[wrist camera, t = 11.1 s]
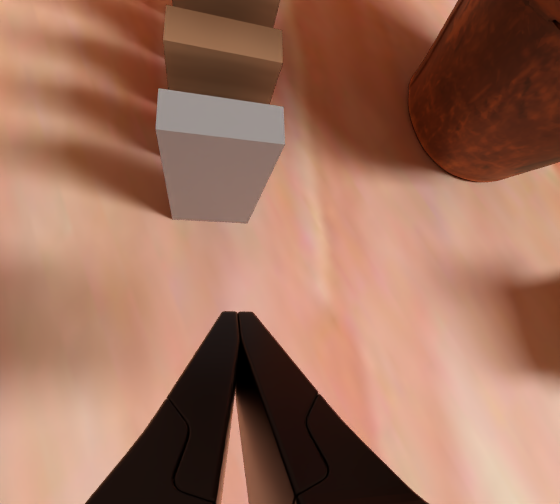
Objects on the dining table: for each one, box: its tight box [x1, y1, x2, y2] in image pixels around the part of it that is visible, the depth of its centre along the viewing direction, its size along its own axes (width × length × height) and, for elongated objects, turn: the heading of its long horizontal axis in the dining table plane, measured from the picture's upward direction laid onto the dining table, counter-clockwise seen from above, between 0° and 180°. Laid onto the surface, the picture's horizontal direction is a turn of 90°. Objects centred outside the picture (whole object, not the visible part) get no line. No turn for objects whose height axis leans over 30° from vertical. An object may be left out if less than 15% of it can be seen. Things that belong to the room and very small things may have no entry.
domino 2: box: [163, 5, 283, 104], centre depth 19 cm, size 2×5×10 cm, turn 91°
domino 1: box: [156, 88, 285, 223], centre depth 18 cm, size 2×5×10 cm, turn 91°
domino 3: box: [172, 0, 280, 28], centre depth 20 cm, size 2×5×10 cm, turn 91°
